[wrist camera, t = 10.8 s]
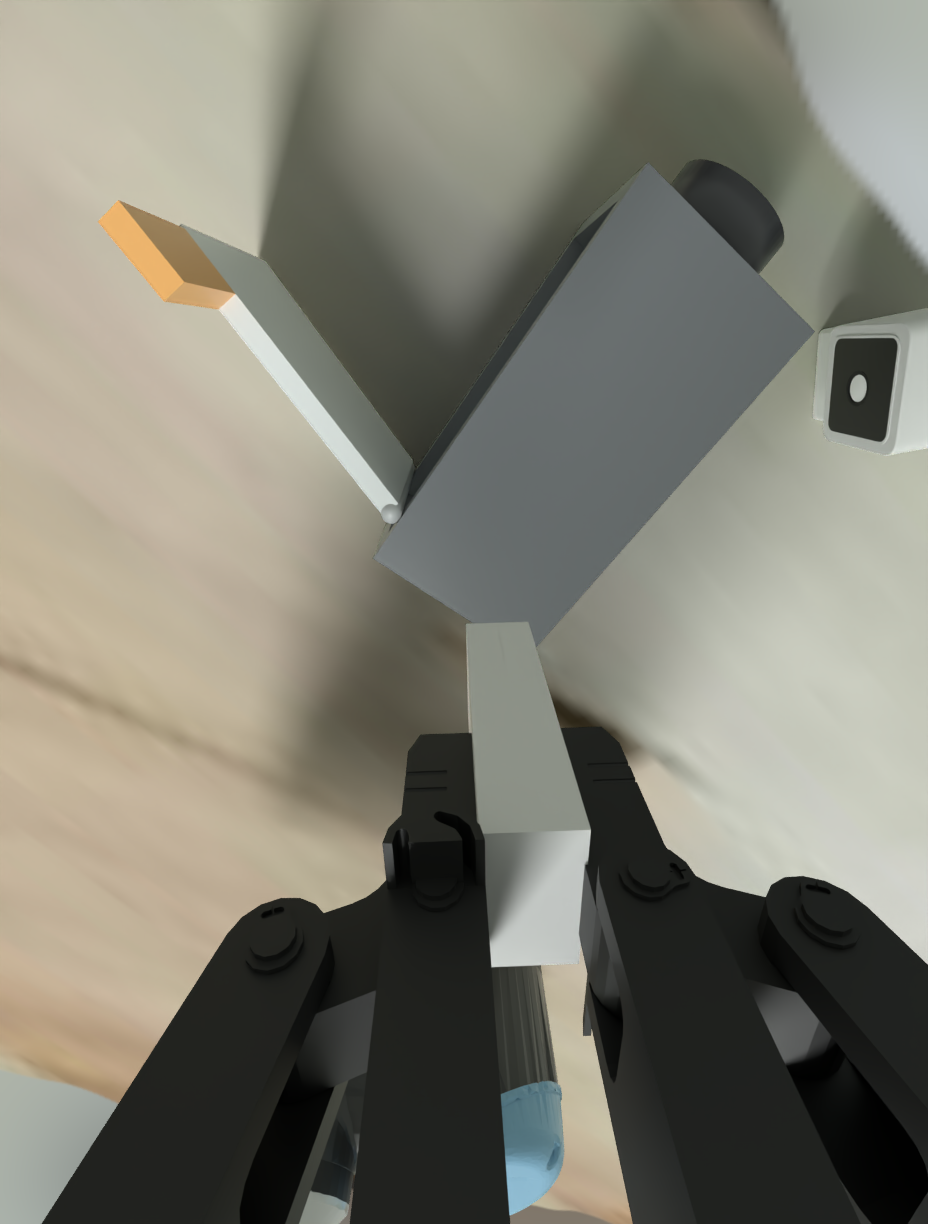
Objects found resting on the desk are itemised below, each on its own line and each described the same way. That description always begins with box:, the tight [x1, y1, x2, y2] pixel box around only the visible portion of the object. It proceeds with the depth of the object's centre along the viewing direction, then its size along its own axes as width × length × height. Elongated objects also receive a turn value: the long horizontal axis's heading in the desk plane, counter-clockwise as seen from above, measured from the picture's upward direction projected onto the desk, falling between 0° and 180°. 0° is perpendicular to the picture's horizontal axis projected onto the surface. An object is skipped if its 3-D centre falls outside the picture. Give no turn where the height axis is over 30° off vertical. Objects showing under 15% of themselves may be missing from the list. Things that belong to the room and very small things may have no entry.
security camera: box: [813, 308, 928, 456], centre depth 32 cm, size 6×7×10 cm
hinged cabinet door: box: [98, 200, 415, 524], centre depth 28 cm, size 15×1×16 cm, turn 35°
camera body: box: [373, 159, 815, 647], centre depth 31 cm, size 23×10×12 cm, turn 144°
